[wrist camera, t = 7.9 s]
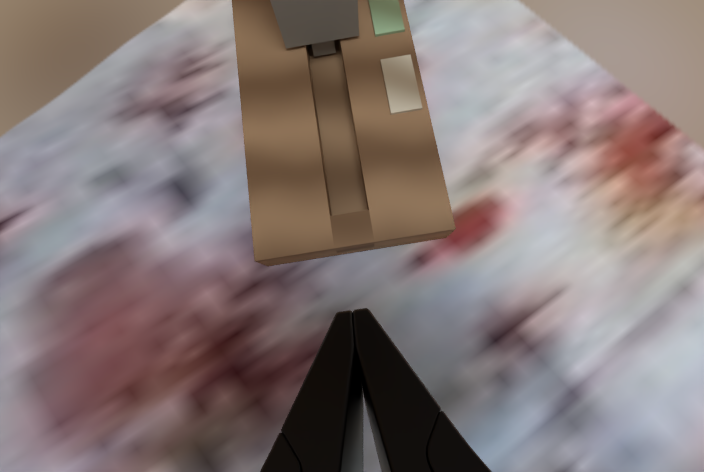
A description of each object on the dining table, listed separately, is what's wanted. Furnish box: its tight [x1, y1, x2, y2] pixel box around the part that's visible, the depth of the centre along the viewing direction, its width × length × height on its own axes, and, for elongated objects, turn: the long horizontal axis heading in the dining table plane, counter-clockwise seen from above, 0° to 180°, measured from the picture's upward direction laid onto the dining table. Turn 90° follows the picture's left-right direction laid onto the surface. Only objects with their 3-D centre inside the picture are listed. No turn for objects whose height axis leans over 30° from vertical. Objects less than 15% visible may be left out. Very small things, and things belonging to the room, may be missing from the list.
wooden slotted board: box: [232, 0, 456, 266], centre depth 23 cm, size 22×12×3 cm, turn 9°
